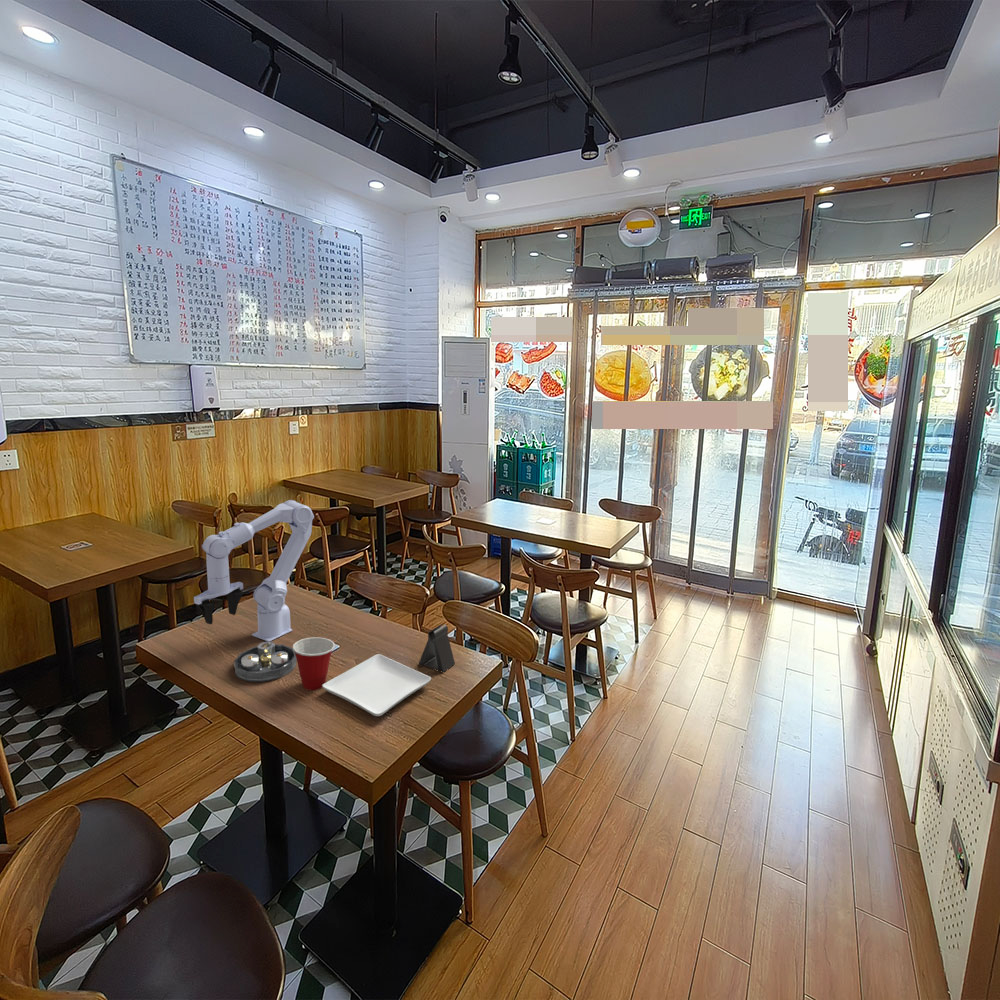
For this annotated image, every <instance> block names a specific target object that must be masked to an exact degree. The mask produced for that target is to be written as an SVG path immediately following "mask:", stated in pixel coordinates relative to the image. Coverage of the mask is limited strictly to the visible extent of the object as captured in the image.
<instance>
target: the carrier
mask: <svg viewBox="0 0 1000 1000" xmlns="http://www.w3.org/2000/svg"><path fill="white" fill-rule="evenodd" d="M274 644H275V643H274ZM260 657H261V659H259V656H258V647H257V646H253V647H251V648H249V649H247V650H245V651H243V652H240V654H238V655H237V657H236V658H235V659H234V660H233V666H234V671H235V673H234V674H235V676H236V677H237V678H238V679H240V680H242V681H244V682H250V683H265V682H270V681H275V680H277V679H281V678H283V677H285V676H286V675H289V674H290V673H291V672H292V671H293V670H294V669H295V667H296V666H297V659H296V655H295V652H294V650H293V647H290V646H288V645H285V644H280V643H279V644H278V643H277V644H275V653H273V654H272V655H271V654H269V653H264V654H262V655H261V656H260Z"/></svg>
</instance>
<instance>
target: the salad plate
mask: <svg viewBox="0 0 1000 1000" xmlns="http://www.w3.org/2000/svg"><path fill="white" fill-rule="evenodd" d="M431 680H432V677H431V676H430V675H427V674H424V673H423V672H420V671H418V670H417V669H414V668H412V667H409V666H407V665H404V664H403V663H401V662H398V661H397V660H394V659H391V658H389V657H387V656H385V655H383V654H380V653H378V654H377V653H376V654H375V655H373V656H371V657H369V658H367V659H365V660H364V661H362V662H361V663H359V664H356V666H353V667H351V668H350V669H348V670H346V671H344V672H343V673H341V674H339V675H337V676H335V677H333V678H332V679H329V680H328V681H327V682H325V683H324V684H323V685H322V686H323V687H322V688H323V689H324V690H325V691H326V692H328V693H329V694H332V695H335V696H337V697H339V698H341V699H343V700H345V701H347V702H348V703H350V704H352V705H355V706H357V707H358V708H361V709H362V710H364V711H365V712H367V713H369V714H370V715H372V716H374V717H380V716H382V715H384V714H385V713H387V712H388V711H390V709H392V708H393V707H395V706H397V705H398V704H400V703H401V702H402V701H404V700H406V698H408V697H409V696H410V695H412V694H414V693H415V692H417V691H418V690H421V689H422V688H423V687H425V686H427V685H428V684H429V683H430V681H431Z"/></svg>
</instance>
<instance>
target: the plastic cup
mask: <svg viewBox="0 0 1000 1000" xmlns="http://www.w3.org/2000/svg"><path fill="white" fill-rule="evenodd" d="M335 647H336V645H335V642H334V641H333V640H332V639H328V638H327V637H319V636H317V637H314V636H313V637H306V638H302V639H300V640H298V641H297V640H296V641H295V642H294V644H292V648H293V650H294V652H295V655H296V659H297V661H296V664H297V666H298V667H297V668H298V672H299V676H300V680H301V684H302V687H303V689H305V690H308V691H317V690H319V689H322V688H323V686H322V685H323V684H324V683H326V681H327V674H328V671H329V665H330V661H331V660H330V659H331V656H332V653H333V651H334V649H335Z"/></svg>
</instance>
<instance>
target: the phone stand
mask: <svg viewBox="0 0 1000 1000" xmlns="http://www.w3.org/2000/svg"><path fill="white" fill-rule="evenodd" d="M448 634H449V628H448V626H447V624H444V623H440V624H439V625H437V626H435V628H433V629H431V630H430V631H428V632H427V637H428V638H427V642H426V644H425V646H424V649H423V652H422V654H421V656H420V658H419V661H418V664H419V665H420V664H421V665H420V666H423V667H425V666H427V667H426V668H428V667H429V668H428V669H431V668H432V670H433V669H436V670H438V671H437V672H439V671H442V672H444V671H445V672H446V671H448V670H449V669H451V668H452V667H453V666H454V665H456V663H455V659H454V655H453V651H452V646H451V643H450V639H449V635H448ZM452 665H453V666H452ZM451 666H452V667H451ZM448 668H449V669H448ZM447 669H448V670H447ZM436 670H435V671H436ZM445 672H444V673H445Z"/></svg>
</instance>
